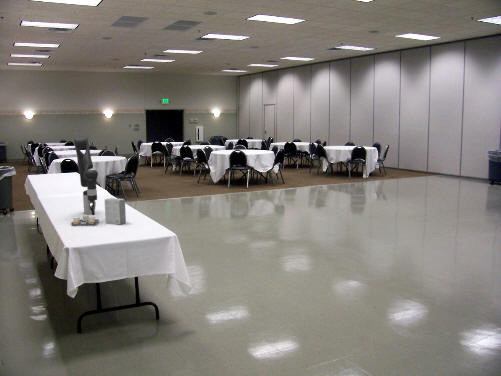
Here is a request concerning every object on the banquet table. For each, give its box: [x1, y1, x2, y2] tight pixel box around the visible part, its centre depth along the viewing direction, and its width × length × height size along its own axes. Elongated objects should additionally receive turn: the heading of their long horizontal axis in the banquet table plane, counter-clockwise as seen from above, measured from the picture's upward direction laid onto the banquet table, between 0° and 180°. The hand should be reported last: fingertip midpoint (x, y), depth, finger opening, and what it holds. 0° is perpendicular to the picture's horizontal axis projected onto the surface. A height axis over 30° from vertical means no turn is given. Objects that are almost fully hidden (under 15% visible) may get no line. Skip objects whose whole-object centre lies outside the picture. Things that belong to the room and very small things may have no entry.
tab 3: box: [88, 215, 96, 222], centre depth 394 cm, size 4×4×5 cm
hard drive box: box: [104, 197, 127, 225], centre depth 401 cm, size 16×8×20 cm, turn 65°
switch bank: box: [70, 218, 100, 227], centre depth 398 cm, size 12×19×3 cm, turn 96°
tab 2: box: [82, 214, 90, 222], centre depth 400 cm, size 4×4×5 cm
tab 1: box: [72, 216, 81, 222], centre depth 393 cm, size 4×4×5 cm
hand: (93, 214), depth 402 cm, fingers closed
